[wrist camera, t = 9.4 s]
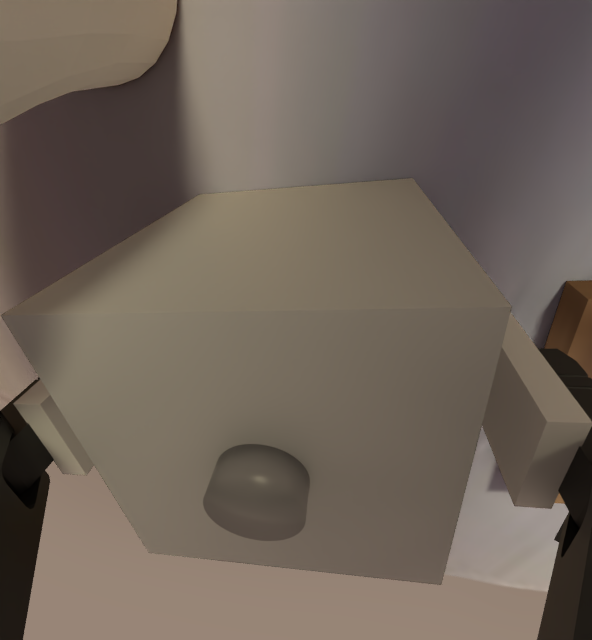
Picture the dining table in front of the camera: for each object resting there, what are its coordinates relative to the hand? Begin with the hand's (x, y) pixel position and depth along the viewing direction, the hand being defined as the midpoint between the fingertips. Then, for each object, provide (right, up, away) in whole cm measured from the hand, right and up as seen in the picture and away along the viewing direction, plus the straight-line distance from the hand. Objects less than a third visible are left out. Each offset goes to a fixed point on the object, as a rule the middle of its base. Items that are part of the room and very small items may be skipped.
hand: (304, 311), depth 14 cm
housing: (0, +1, +2) cm, 2 cm away
